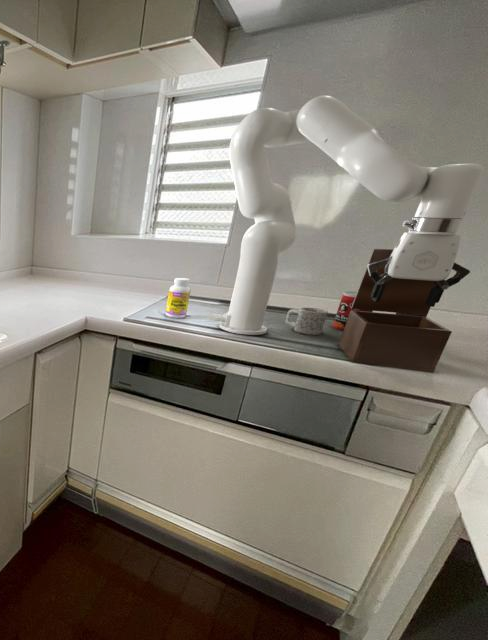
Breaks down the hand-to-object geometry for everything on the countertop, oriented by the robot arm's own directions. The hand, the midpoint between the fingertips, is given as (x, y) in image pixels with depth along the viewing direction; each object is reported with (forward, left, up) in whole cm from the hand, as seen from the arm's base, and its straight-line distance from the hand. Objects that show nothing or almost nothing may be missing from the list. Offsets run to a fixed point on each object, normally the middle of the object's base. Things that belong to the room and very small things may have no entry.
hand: (401, 303), depth 96 cm
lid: (0, +7, +4) cm, 8 cm away
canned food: (-1, +29, -14) cm, 32 cm away
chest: (0, 0, -14) cm, 14 cm away
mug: (-14, +21, -14) cm, 29 cm away
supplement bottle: (-50, +22, -14) cm, 56 cm away
